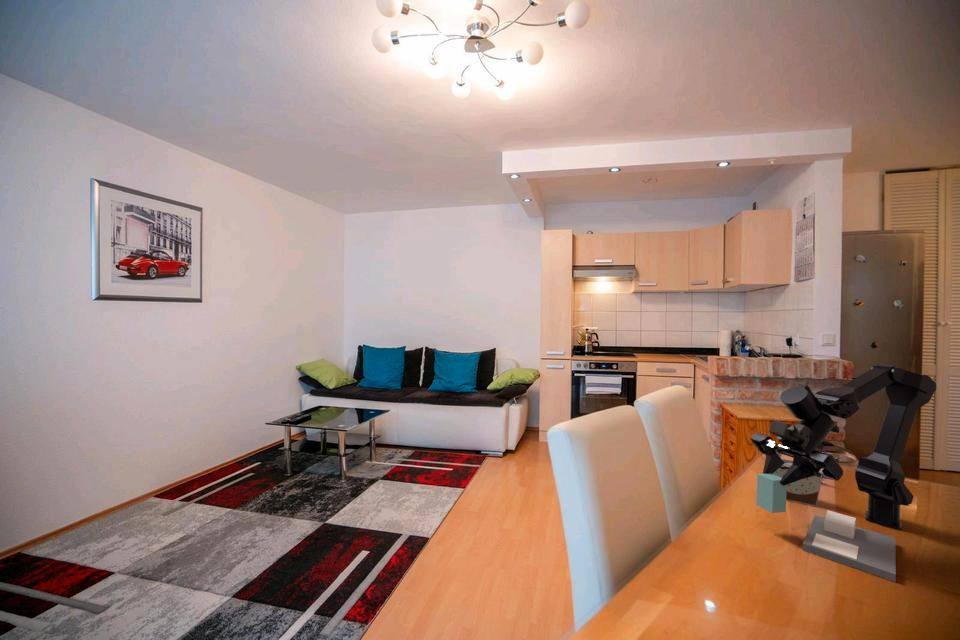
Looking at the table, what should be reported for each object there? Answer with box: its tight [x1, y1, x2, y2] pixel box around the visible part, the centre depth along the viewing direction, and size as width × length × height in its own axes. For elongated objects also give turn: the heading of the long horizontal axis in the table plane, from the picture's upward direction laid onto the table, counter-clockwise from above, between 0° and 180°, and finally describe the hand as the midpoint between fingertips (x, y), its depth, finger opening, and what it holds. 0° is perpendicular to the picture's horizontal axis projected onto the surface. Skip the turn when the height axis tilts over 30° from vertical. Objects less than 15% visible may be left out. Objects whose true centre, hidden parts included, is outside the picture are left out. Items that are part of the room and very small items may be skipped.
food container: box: [773, 459, 826, 508], centre depth 114 cm, size 12×6×10 cm, turn 58°
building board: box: [802, 509, 897, 583], centre depth 88 cm, size 20×14×4 cm
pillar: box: [755, 473, 787, 514], centre depth 94 cm, size 4×4×8 cm
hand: (772, 480), depth 94 cm, fingers closed on pillar, 4 cm apart
